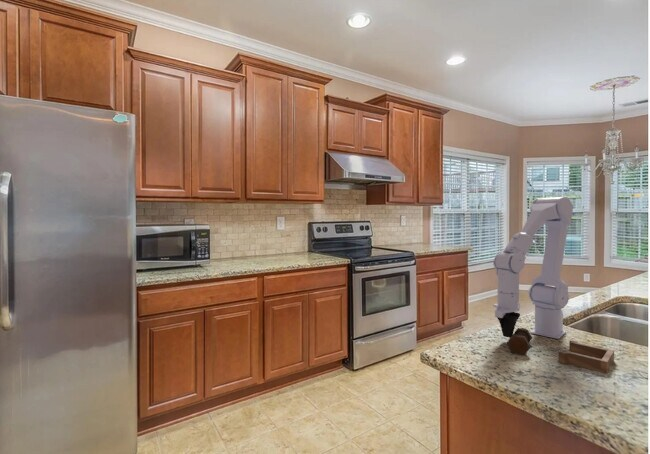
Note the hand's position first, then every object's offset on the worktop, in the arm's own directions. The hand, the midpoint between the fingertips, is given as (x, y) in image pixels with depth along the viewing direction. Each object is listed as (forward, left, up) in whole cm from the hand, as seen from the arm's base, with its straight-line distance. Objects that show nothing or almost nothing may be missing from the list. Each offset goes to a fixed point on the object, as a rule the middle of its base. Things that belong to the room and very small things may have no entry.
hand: (507, 336), depth 105 cm
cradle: (0, +19, -2) cm, 19 cm away
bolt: (+1, +4, -2) cm, 5 cm away
